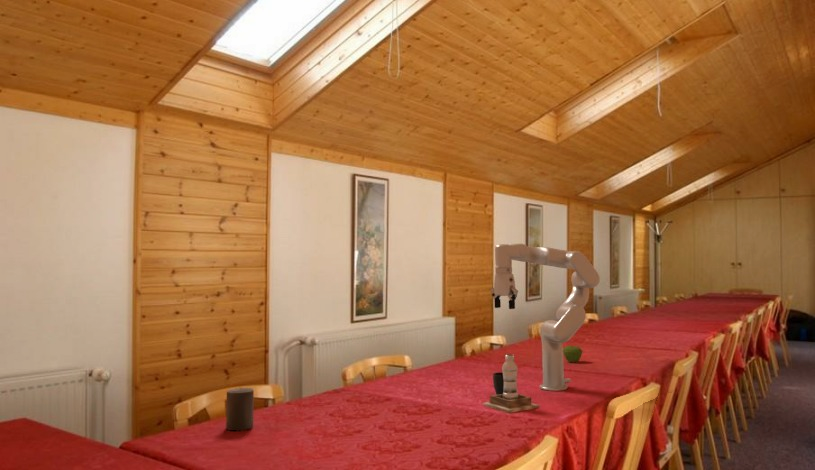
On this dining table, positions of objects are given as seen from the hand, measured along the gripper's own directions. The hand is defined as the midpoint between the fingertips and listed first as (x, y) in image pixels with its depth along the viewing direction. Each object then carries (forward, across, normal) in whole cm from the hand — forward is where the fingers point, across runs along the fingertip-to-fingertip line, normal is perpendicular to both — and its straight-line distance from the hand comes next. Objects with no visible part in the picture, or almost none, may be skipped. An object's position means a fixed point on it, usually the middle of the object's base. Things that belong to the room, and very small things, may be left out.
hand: (504, 308), depth 285 cm
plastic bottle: (+37, -22, +18) cm, 47 cm away
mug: (+38, -7, +7) cm, 39 cm away
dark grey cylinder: (+37, +12, +120) cm, 127 cm away
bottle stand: (+38, -22, +18) cm, 48 cm away
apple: (+39, +38, -86) cm, 101 cm away
